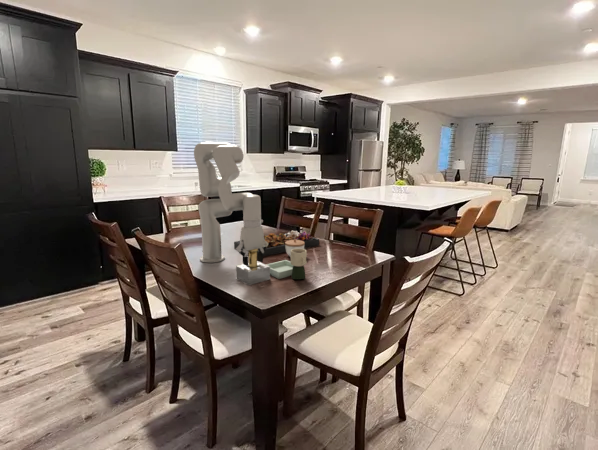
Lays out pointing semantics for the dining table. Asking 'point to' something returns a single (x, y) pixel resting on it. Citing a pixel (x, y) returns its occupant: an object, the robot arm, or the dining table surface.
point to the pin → (253, 258)
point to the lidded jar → (293, 245)
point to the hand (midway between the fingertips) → (253, 262)
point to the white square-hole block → (253, 273)
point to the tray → (281, 269)
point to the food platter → (278, 242)
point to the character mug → (298, 263)
